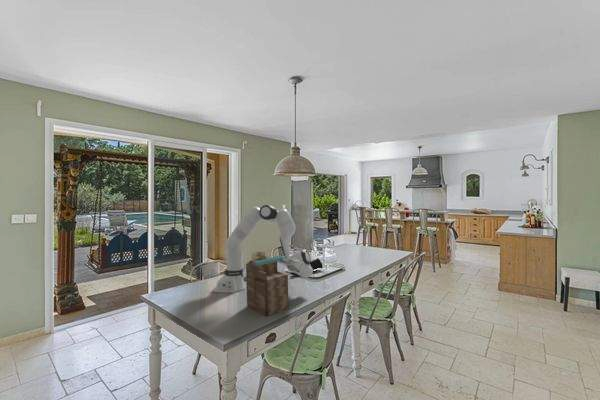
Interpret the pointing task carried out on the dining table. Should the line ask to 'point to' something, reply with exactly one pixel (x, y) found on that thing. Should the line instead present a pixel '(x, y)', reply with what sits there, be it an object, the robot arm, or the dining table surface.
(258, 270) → the rack
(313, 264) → the magazine
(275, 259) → the slat
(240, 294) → the dining table surface
